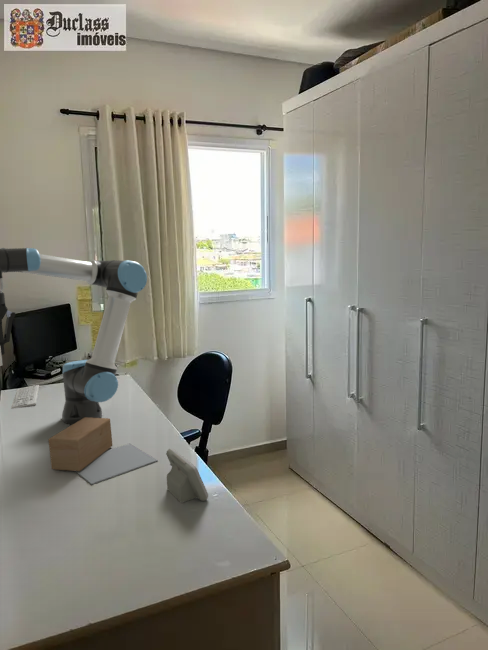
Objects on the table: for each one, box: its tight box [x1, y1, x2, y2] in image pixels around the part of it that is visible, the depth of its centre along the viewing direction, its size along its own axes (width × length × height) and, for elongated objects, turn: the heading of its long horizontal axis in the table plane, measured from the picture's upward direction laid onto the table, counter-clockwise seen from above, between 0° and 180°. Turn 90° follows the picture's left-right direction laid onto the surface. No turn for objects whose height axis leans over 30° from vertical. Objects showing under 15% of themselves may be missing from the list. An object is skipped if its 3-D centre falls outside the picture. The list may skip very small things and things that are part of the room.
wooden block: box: [48, 417, 113, 472], centre depth 157 cm, size 10×10×20 cm
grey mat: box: [74, 443, 158, 486], centre depth 154 cm, size 22×18×1 cm
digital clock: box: [165, 448, 209, 503], centre depth 135 cm, size 16×9×11 cm, turn 22°
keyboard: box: [10, 384, 40, 409], centre depth 223 cm, size 29×10×2 cm, turn 20°
